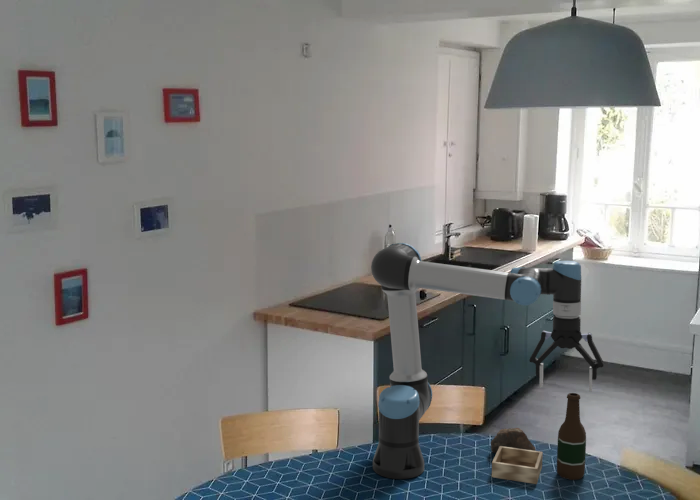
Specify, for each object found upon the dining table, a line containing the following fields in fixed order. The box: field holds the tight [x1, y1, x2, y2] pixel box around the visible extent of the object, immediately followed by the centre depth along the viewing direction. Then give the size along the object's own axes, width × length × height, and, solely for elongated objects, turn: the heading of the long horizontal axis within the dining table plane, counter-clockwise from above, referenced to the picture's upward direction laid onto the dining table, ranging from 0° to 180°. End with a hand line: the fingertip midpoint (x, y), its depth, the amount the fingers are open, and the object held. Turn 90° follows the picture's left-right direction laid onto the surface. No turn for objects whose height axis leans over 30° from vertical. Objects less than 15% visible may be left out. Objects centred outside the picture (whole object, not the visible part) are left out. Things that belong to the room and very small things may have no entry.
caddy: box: [491, 446, 544, 485], centre depth 216 cm, size 13×13×4 cm
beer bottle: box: [556, 392, 587, 481], centre depth 213 cm, size 8×8×24 cm
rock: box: [490, 427, 537, 454], centre depth 231 cm, size 14×9×10 cm
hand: (565, 388), depth 213 cm, fingers open, 13 cm apart
